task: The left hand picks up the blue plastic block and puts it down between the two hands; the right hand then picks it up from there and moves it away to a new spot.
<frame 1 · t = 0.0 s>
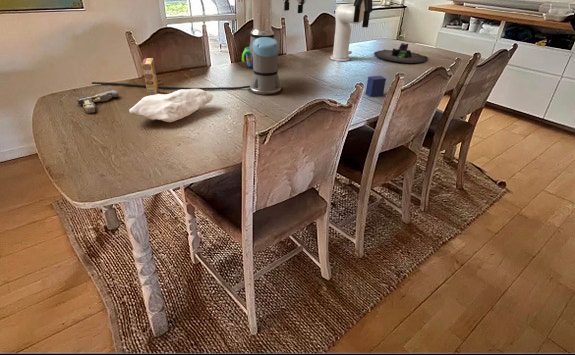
left hand: (360, 24, 182), 28 cm above the table, tool pointing down, fingers open, 13 cm apart
right hand: (293, 11, 189), 31 cm above the table, tool pointing down, fingers open, 9 cm apart
snack cup: (254, 66, 211), on the table
block: (374, 94, 178), on the table
candy box: (153, 94, 167), on the table
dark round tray: (399, 57, 242), on the table
crumpled cloth: (172, 113, 149), on the table
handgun: (101, 103, 156), on the table
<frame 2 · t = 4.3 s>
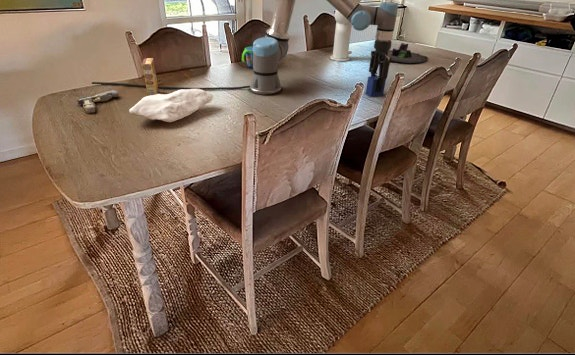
left hand: (375, 89, 177), 2 cm above the table, tool pointing down, fingers closed on block, 5 cm apart
right hand: (288, 0, 223), 32 cm above the table, tool pointing down, fingers open, 9 cm apart
block: (374, 94, 178), on the table, touching left hand
everything else where it was.
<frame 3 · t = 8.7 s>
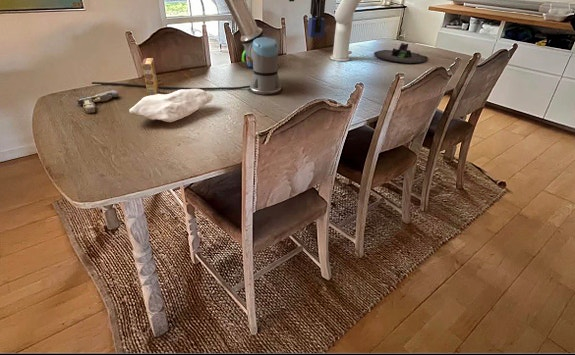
left hand: (315, 31, 184), 24 cm above the table, tool pointing down, fingers closed on block, 5 cm apart
right hand: (288, 0, 223), 32 cm above the table, tool pointing down, fingers open, 9 cm apart
block: (315, 36, 186), point 22 cm above the table, touching left hand
everything else where it was.
when the left hand's fingers open (4 cm above the table, at t = 13.6 s): block drops 1 cm, on the table.
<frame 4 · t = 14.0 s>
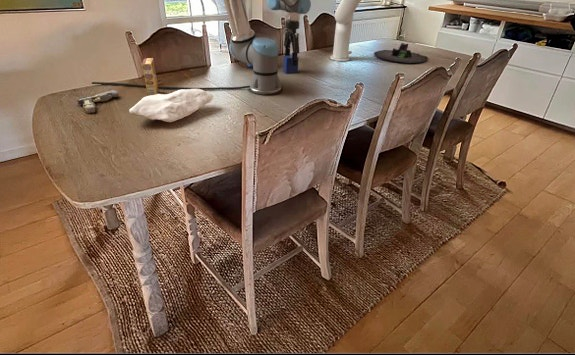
left hand: (290, 62, 202), 5 cm above the table, tool pointing down, fingers open, 10 cm apart
right hand: (288, 0, 223), 32 cm above the table, tool pointing down, fingers open, 9 cm apart
block: (290, 71, 205), on the table
everything else where it was.
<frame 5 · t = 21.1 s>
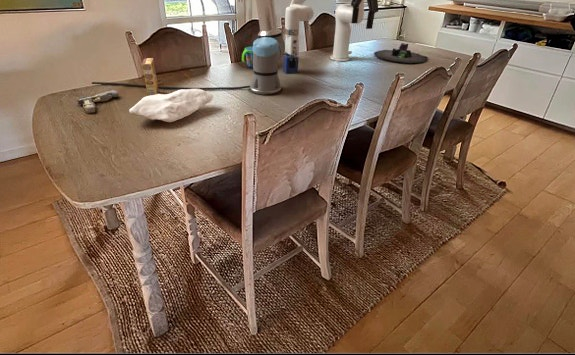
left hand: (361, 25, 167), 30 cm above the table, tool pointing down, fingers open, 13 cm apart
right hand: (290, 66, 203), 3 cm above the table, tool pointing down, fingers closed on block, 4 cm apart
block: (290, 71, 205), on the table, touching right hand
everything else where it was.
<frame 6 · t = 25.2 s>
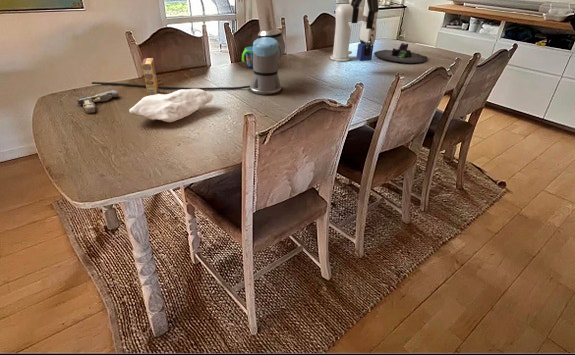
left hand: (361, 25, 167), 30 cm above the table, tool pointing down, fingers open, 13 cm apart
right hand: (364, 53, 204), 10 cm above the table, tool pointing down, fingers closed on block, 4 cm apart
block: (363, 59, 206), point 7 cm above the table, touching right hand
everything else where it was.
when the right hand's fingers open (4 cm above the table, at t = 29.2 s): block drops 1 cm, on the table.
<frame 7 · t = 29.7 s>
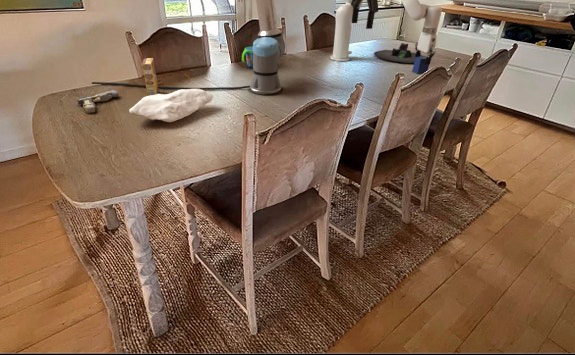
left hand: (361, 25, 167), 30 cm above the table, tool pointing down, fingers open, 13 cm apart
right hand: (421, 61, 211), 6 cm above the table, tool pointing down, fingers open, 9 cm apart
block: (419, 72, 214), on the table
everything else where it was.
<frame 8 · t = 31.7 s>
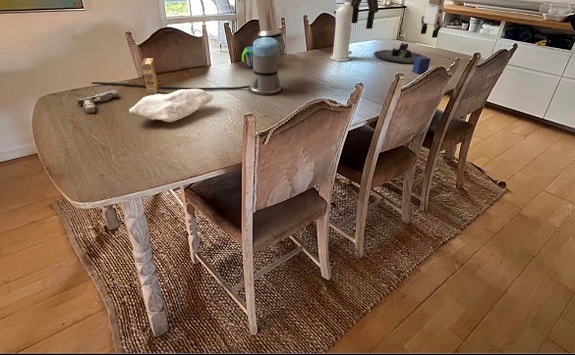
left hand: (361, 25, 167), 30 cm above the table, tool pointing down, fingers open, 13 cm apart
right hand: (428, 35, 203), 20 cm above the table, tool pointing down, fingers open, 9 cm apart
nothing on the table moved.
at the end: block inside the target area (0.2 cm from its centre), on the table; block tilted 0°; the two hands never held the block at the same time; the left hand is holding nothing; the right hand is holding nothing; block at rest at the end (0.0 cm/s) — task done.
